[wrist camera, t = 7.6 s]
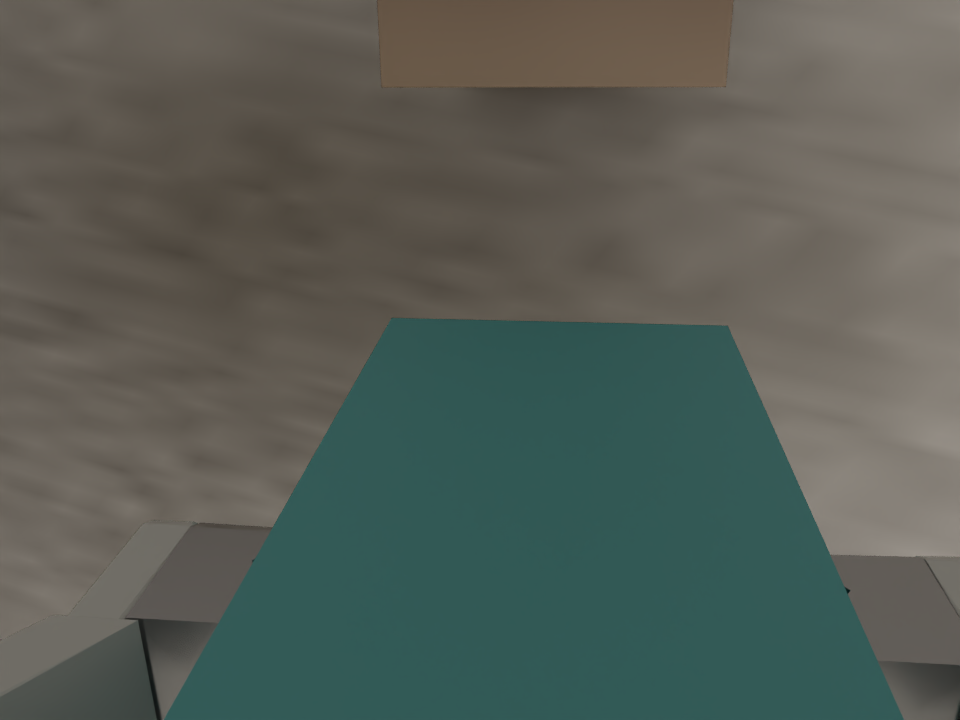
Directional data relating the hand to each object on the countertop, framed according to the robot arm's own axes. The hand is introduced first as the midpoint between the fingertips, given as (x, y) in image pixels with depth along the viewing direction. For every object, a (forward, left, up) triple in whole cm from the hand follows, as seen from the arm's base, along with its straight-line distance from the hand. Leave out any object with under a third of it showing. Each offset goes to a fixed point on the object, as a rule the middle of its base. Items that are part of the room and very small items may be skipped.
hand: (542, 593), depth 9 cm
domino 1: (+3, +5, -16) cm, 17 cm away
